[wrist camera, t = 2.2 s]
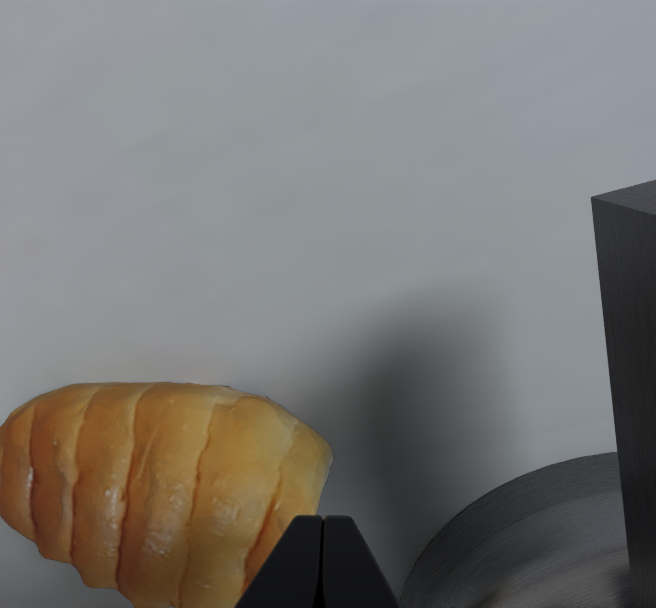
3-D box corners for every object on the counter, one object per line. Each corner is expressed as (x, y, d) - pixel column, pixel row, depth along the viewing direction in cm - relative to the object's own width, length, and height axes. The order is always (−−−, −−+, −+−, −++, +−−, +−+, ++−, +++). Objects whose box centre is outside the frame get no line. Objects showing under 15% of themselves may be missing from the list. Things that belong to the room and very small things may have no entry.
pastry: (15, 514, 16) (-76, 622, 13) (24, 326, 14) (-82, 392, 11) (297, 570, 17) (286, 688, 13) (347, 398, 15) (350, 484, 11)
